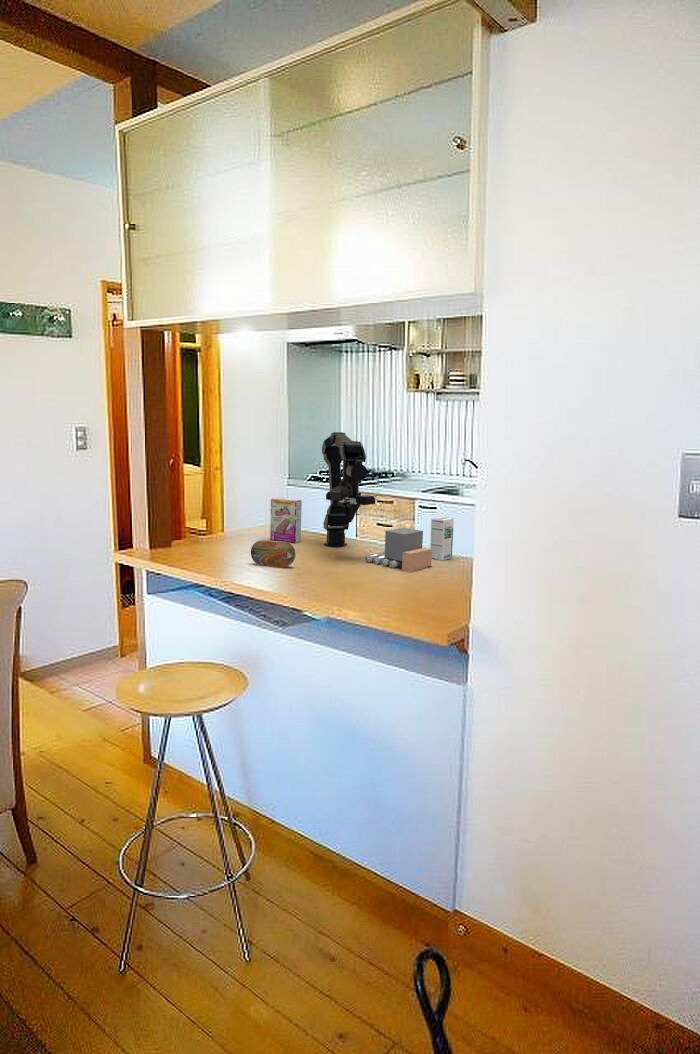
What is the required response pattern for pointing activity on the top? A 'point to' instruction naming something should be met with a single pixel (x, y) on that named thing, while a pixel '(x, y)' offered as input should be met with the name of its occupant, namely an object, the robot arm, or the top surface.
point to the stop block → (416, 559)
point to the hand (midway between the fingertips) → (349, 522)
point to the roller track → (383, 560)
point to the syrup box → (441, 537)
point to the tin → (273, 553)
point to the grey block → (402, 542)
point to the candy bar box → (285, 520)
